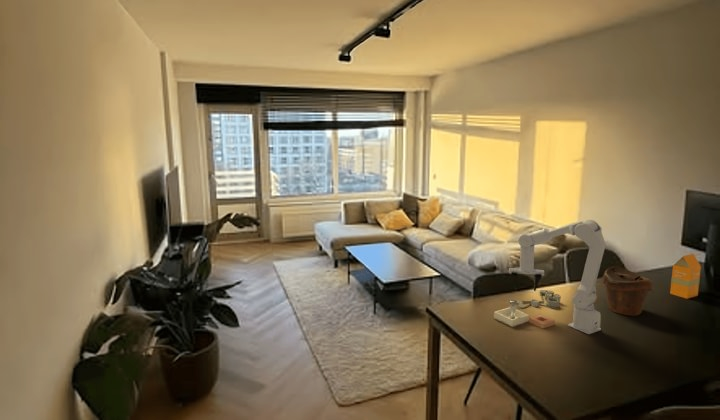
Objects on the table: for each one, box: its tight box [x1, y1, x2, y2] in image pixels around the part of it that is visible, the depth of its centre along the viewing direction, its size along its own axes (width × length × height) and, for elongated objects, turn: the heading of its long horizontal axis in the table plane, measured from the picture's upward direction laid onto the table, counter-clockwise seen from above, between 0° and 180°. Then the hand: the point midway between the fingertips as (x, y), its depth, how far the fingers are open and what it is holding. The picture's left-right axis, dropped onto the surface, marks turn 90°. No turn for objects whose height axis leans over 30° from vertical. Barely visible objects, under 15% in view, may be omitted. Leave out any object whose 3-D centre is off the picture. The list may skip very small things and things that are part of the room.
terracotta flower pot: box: [601, 266, 655, 316], centre depth 188 cm, size 18×20×18 cm
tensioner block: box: [528, 314, 556, 329], centre depth 178 cm, size 7×7×2 cm
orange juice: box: [669, 253, 702, 300], centre depth 205 cm, size 8×9×20 cm
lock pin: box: [508, 299, 518, 319], centre depth 181 cm, size 3×3×8 cm
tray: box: [493, 306, 530, 328], centre depth 182 cm, size 10×10×3 cm
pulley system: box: [516, 289, 562, 309], centre depth 200 cm, size 27×5×15 cm
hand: (525, 289), depth 190 cm, fingers open, 7 cm apart
